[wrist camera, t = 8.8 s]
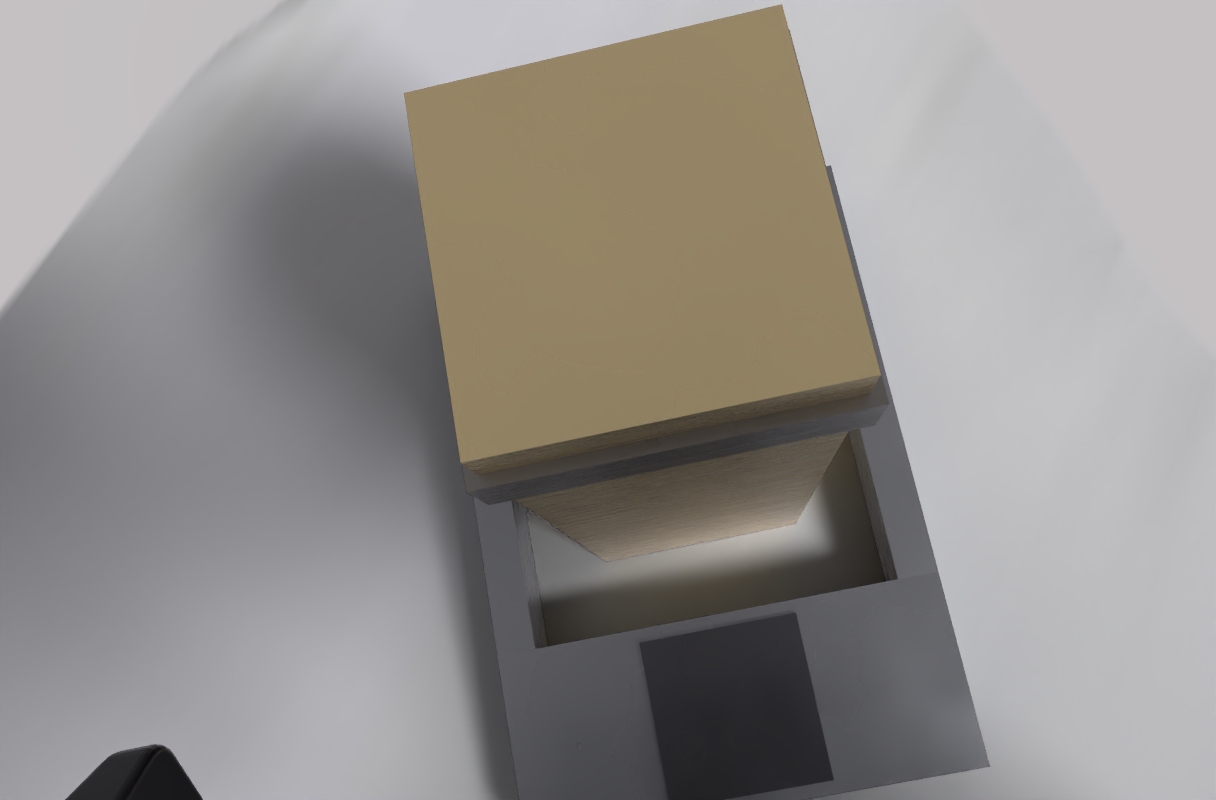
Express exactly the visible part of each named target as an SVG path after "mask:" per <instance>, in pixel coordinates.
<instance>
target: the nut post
mask: <svg viewBox="0 0 1216 800" xmlns="http://www.w3.org/2000/svg"><path fill="white" fill-rule="evenodd" d="M404 97H405V103H406V110H407V116H408V123H409V129H410V136H411V142H412V149H413V155H414V162H415V169H416V175H417V182H418V188H419V195H420V201H421V208H422V214H423V221H424V227H425V234H426V240H427V247H428V253H429V260H430V267H431V273H432V280H433V286H434V293H435V299H436V306H437V312H438V319H439V325H440V332H441V338H442V345H443V352H444V358H445V365H446V371H447V378H448V384H449V391H450V397H451V404H452V410H453V417H454V423H455V430H456V436H457V443H458V450H459V456H460V463H461V464H462V469H463V476H464V482H465V489H466V492H467V493H468V494H470V495H472V496H473V497H475V498H477V499H479V500H480V501H482V502H484V503H486V504H487V505H493V504H497V503H502V502H507V501H512V500H516V501H518V502H519V503H520V504H522V505H523V506H525V507H526V508H528V509H529V510H531V511H532V512H534V513H535V514H537V515H538V516H540V517H541V518H543V519H544V520H546V521H547V522H549V523H550V524H551V525H553V526H554V527H556V528H557V529H559V530H560V531H562V532H563V533H565V534H566V535H568V536H569V537H571V538H572V539H574V540H575V541H577V542H578V543H580V544H581V545H583V546H584V547H585V548H587V549H588V550H590V551H591V552H593V553H594V554H596V555H597V556H599V557H600V558H602V559H603V560H605V561H606V562H608V561H613V560H618V559H623V558H628V557H633V556H638V555H643V554H648V553H653V552H658V551H663V550H668V549H673V548H678V547H683V546H688V545H693V544H698V543H703V542H708V541H713V540H718V539H723V538H728V537H733V536H738V535H743V534H748V533H753V532H758V531H763V530H768V529H773V528H777V527H782V526H787V525H792V524H796V522H797V520H798V519H799V517H800V515H801V513H802V512H803V510H804V508H805V506H806V505H807V503H808V501H809V499H810V498H811V496H812V494H813V492H814V491H815V489H816V487H817V485H818V484H819V482H820V480H821V478H822V477H823V475H824V473H825V471H826V470H827V468H828V466H829V464H830V463H831V461H832V459H833V458H834V456H835V454H836V452H837V451H838V449H839V447H840V445H841V444H842V442H843V440H844V438H845V437H846V435H847V433H848V431H851V430H856V429H861V428H866V427H870V426H875V425H876V423H877V422H878V420H879V419H880V418H881V416H882V415H883V413H884V412H885V410H886V409H887V407H888V406H889V401H888V397H887V393H886V389H885V386H884V382H883V378H882V375H881V371H880V367H879V363H878V360H877V356H876V352H875V348H874V345H873V341H872V337H871V333H870V330H869V326H868V322H867V318H866V315H865V311H864V307H863V303H862V300H861V296H860V292H859V289H858V285H857V281H856V277H855V274H854V270H853V266H852V262H851V259H850V255H849V251H848V247H847V244H846V240H845V236H844V232H843V229H842V225H841V221H840V217H839V214H838V210H837V206H836V203H835V199H834V195H833V191H832V188H831V184H830V180H829V176H828V173H827V169H826V165H825V161H824V158H823V154H822V150H821V146H820V143H819V139H818V135H817V131H816V128H815V124H814V120H813V117H812V113H811V109H810V105H809V102H808V98H807V94H806V90H805V87H804V83H803V79H802V75H801V72H800V68H799V64H798V60H797V57H796V53H795V49H794V45H793V42H792V38H791V34H790V31H789V29H788V25H787V21H786V18H785V14H784V10H783V6H782V4H781V5H777V6H773V7H768V8H764V9H760V10H756V11H751V12H747V13H743V14H739V15H734V16H730V17H726V18H722V19H717V20H713V21H709V22H705V23H700V24H696V25H692V26H688V27H683V28H679V29H675V30H670V31H666V32H662V33H658V34H653V35H649V36H645V37H641V38H636V39H632V40H628V41H624V42H619V43H615V44H611V45H607V46H602V47H598V48H594V49H590V50H585V51H581V52H577V53H573V54H568V55H564V56H560V57H556V58H551V59H547V60H543V61H539V62H534V63H530V64H526V65H522V66H517V67H513V68H509V69H505V70H500V71H496V72H492V73H488V74H483V75H479V76H475V77H471V78H466V79H462V80H458V81H454V82H449V83H445V84H441V85H437V86H432V87H428V88H424V89H420V90H415V91H411V92H407V93H404Z"/></svg>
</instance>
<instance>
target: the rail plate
mask: <svg viewBox="0 0 1216 800" xmlns="http://www.w3.org/2000/svg"><path fill="white" fill-rule="evenodd" d="M826 169H827V173H828V176H829V180H830V184H831V188H832V191H833V195H834V199H835V203H836V206H837V210H838V214H839V217H840V221H841V225H842V229H843V232H844V236H845V240H846V244H847V247H848V251H849V255H850V259H851V262H852V266H853V270H854V274H855V277H856V281H857V285H858V289H859V292H860V296H861V300H862V303H863V307H864V311H865V315H866V318H867V322H868V326H869V330H870V333H871V337H872V341H873V345H874V348H875V352H876V356H877V360H878V363H879V367H880V371H881V375H882V378H883V382H884V386H885V389H886V393H887V397H888V401H889V406H888V407H887V409H886V410H885V412H884V413H883V415H882V416H881V418H880V419H879V420H878V422H877V423H876V425H875V426H870V427H866V428H861V429H856V430H851V431H848V434H849V438H850V442H851V446H852V450H853V454H854V458H855V462H856V466H857V470H858V474H859V478H860V482H861V486H862V490H863V494H864V498H865V502H866V506H867V510H868V514H869V518H870V522H871V526H872V530H873V534H874V538H875V542H876V546H877V550H878V554H879V558H880V561H881V565H882V569H883V573H884V577H885V581H886V582H881V583H876V584H870V585H865V586H860V587H855V588H850V589H844V590H839V591H834V592H829V593H824V594H818V595H813V596H808V597H803V598H798V599H792V600H787V601H782V602H777V603H772V604H766V605H761V606H756V607H751V608H746V609H740V610H735V611H730V612H725V613H720V614H714V615H709V616H704V617H699V618H694V619H688V620H683V621H678V622H673V623H668V624H662V625H657V626H652V627H647V628H642V629H636V630H631V631H626V632H621V633H616V634H610V635H605V636H600V637H595V638H590V639H584V640H579V641H574V642H569V643H564V644H558V645H553V646H548V642H547V636H546V630H545V624H544V618H543V612H542V606H541V599H540V593H539V587H538V581H537V575H536V569H535V563H534V557H533V551H532V545H531V538H530V532H529V526H528V520H527V514H526V508H525V506H523V505H522V504H520V503H519V502H518V501H516V500H512V501H507V502H502V503H497V504H493V505H487V504H486V503H484V502H482V501H480V500H479V499H477V498H475V497H473V499H474V505H475V512H476V519H477V525H478V532H479V538H480V545H481V552H482V558H483V565H484V572H485V578H486V585H487V591H488V598H489V605H490V611H491V618H492V624H493V631H494V638H495V644H496V651H497V658H498V664H499V671H500V677H501V684H502V691H503V697H504V704H505V710H506V717H507V724H508V730H509V737H510V744H511V750H512V757H513V763H514V770H515V777H516V783H517V790H518V796H519V800H806V799H811V798H817V797H823V796H828V795H834V794H839V793H845V792H850V791H856V790H862V789H867V788H873V787H878V786H884V785H890V784H895V783H901V782H906V781H912V780H918V779H923V778H929V777H934V776H940V775H946V774H951V773H957V772H962V771H968V770H974V769H979V768H985V767H990V765H989V762H988V758H987V754H986V750H985V747H984V743H983V739H982V735H981V731H980V728H979V724H978V720H977V716H976V713H975V709H974V705H973V701H972V697H971V694H970V690H969V686H968V682H967V679H966V675H965V671H964V667H963V663H962V660H961V656H960V652H959V648H958V645H957V641H956V637H955V633H954V629H953V626H952V622H951V618H950V614H949V611H948V607H947V603H946V599H945V595H944V592H943V588H942V584H941V580H940V577H939V573H938V569H937V565H936V561H935V558H934V554H933V550H932V546H931V543H930V539H929V535H928V531H927V527H926V524H925V520H924V516H923V512H922V509H921V505H920V501H919V497H918V493H917V490H916V486H915V482H914V478H913V475H912V471H911V467H910V463H909V459H908V456H907V452H906V448H905V444H904V441H903V437H902V433H901V429H900V425H899V422H898V418H897V414H896V410H895V407H894V403H893V399H892V395H891V391H890V388H889V384H888V380H887V376H886V373H885V369H884V365H883V361H882V357H881V354H880V350H879V346H878V342H877V338H876V335H875V331H874V327H873V323H872V320H871V316H870V312H869V308H868V304H867V301H866V297H865V293H864V289H863V286H862V282H861V278H860V274H859V270H858V267H857V263H856V259H855V255H854V252H853V248H852V244H851V240H850V236H849V233H848V229H847V225H846V221H845V218H844V214H843V210H842V206H841V202H840V199H839V195H838V191H837V187H836V184H835V180H834V176H833V172H832V168H831V166H826Z"/></svg>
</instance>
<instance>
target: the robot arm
mask: <svg viewBox="0 0 1216 800" xmlns="http://www.w3.org/2000/svg"><path fill="white" fill-rule="evenodd" d="M65 800H203V799H202V797H201V796H200V794H199V792H198V791H197V789H196V788H195V786H194V785H193V783H192V782H191V780H190V779H189V777H188V776H187V774H186V772H185V771H184V769H183V768H182V766H181V765H180V763H179V762H178V760H177V759H176V757H175V756H174V754H173V753H172V752H171V750H170V749H168V748H166V747H165V746H163V745H156V744H154V745H149V746H144V747H139V748H134V749H129V750H124V751H120V752H117V753H115V754H112V755H111V756H109V757H108V758H107V759H106V760H105V761H104V762H102V763H101V764H100V765H99V766H98V767H97V768H96V769H95V770H94V771H93V772H92V773H91V774H90V775H89V776H88V777H87V778H86V779H85V780H84V781H83V782H82V783H81V784H80V785H79V786H78V787H77V788H76V789H75V790H74V791H73V792H72V793H71V794H70V795H69V796H68V797H67V798H66V799H65Z"/></svg>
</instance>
